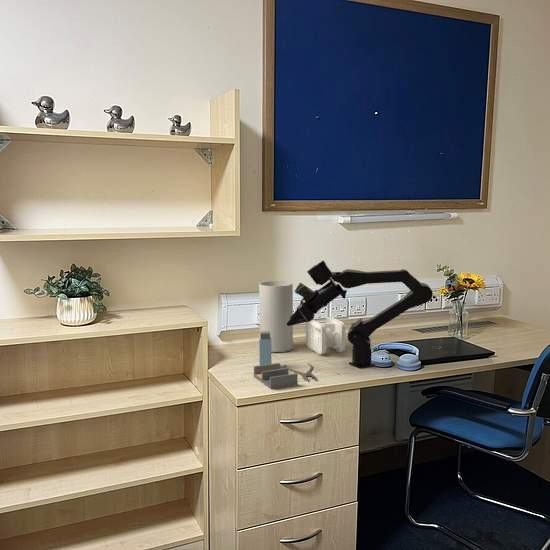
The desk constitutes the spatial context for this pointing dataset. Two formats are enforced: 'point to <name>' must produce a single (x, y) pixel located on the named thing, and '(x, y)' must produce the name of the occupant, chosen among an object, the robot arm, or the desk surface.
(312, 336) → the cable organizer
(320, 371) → the desk surface
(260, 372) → the grey slotted holder
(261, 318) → the cylinder vase
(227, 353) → the desk surface
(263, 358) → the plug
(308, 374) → the pliers
